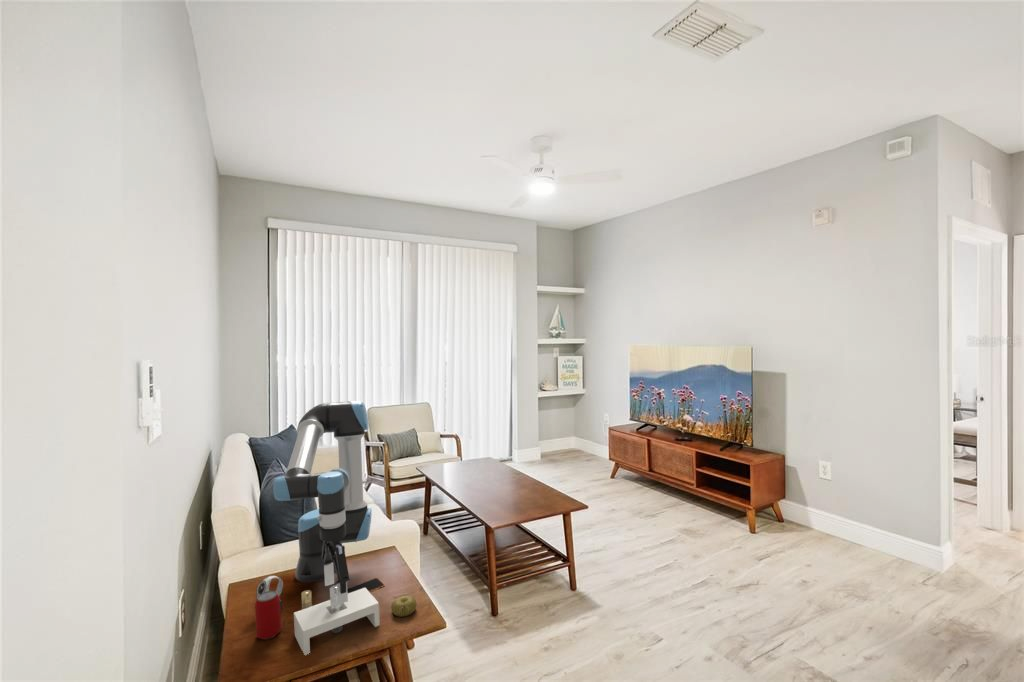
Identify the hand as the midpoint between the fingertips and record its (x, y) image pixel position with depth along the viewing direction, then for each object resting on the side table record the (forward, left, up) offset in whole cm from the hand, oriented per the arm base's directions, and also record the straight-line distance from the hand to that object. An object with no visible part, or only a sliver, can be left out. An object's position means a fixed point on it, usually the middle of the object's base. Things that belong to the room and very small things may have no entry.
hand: (336, 593), depth 147 cm
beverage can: (-12, -17, -12) cm, 24 cm away
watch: (-26, -14, -12) cm, 32 cm away
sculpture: (+4, +20, -12) cm, 23 cm away
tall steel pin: (0, 0, -11) cm, 11 cm away
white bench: (0, 0, -11) cm, 11 cm away
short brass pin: (-16, -5, -11) cm, 20 cm away
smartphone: (-19, +13, -12) cm, 26 cm away
